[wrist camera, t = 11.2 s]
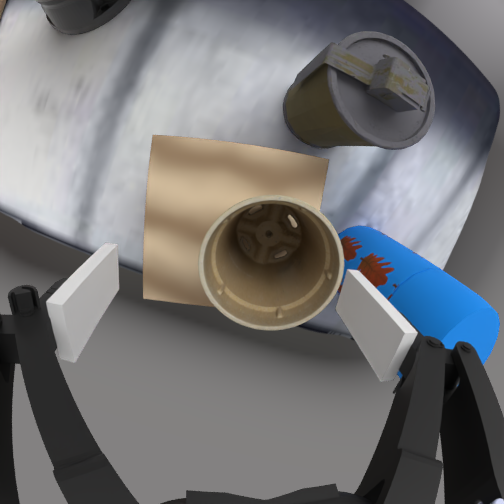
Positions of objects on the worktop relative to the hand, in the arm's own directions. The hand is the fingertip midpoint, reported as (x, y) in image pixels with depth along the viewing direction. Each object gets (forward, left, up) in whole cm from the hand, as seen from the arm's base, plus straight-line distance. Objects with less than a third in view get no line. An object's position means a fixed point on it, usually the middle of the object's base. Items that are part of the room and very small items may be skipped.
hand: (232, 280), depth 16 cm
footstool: (0, 0, -23) cm, 23 cm away
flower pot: (0, +4, -11) cm, 12 cm away
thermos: (+5, +20, -24) cm, 31 cm away
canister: (-15, +10, -24) cm, 30 cm away
